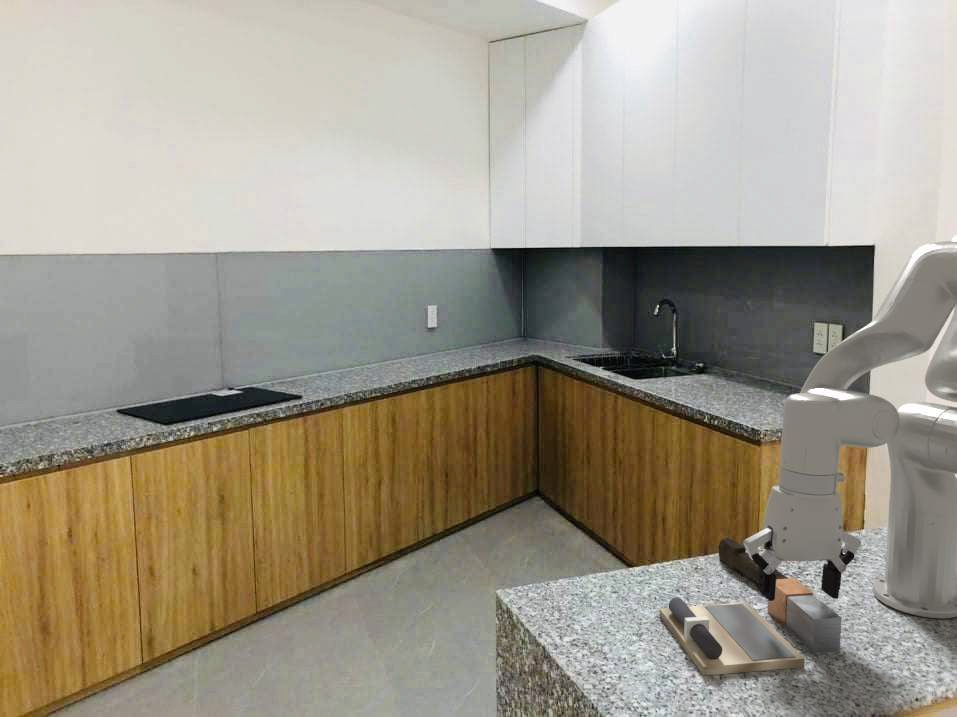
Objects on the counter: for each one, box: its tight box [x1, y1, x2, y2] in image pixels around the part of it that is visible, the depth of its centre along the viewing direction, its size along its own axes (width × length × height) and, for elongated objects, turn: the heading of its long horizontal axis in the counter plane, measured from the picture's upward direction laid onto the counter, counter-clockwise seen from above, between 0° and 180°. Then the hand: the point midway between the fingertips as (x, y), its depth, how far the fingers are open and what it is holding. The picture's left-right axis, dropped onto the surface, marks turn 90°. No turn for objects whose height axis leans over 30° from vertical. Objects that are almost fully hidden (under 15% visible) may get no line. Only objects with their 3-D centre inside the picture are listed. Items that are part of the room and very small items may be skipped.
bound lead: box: [668, 596, 722, 660], centre depth 101 cm, size 3×13×3 cm, turn 6°
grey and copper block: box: [767, 577, 842, 654], centre depth 104 cm, size 4×12×5 cm, turn 6°
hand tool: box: [718, 537, 789, 584], centre depth 121 cm, size 19×4×5 cm, turn 14°
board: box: [659, 602, 806, 676], centre depth 102 cm, size 14×16×1 cm
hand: (798, 595), depth 103 cm, fingers open, 9 cm apart
